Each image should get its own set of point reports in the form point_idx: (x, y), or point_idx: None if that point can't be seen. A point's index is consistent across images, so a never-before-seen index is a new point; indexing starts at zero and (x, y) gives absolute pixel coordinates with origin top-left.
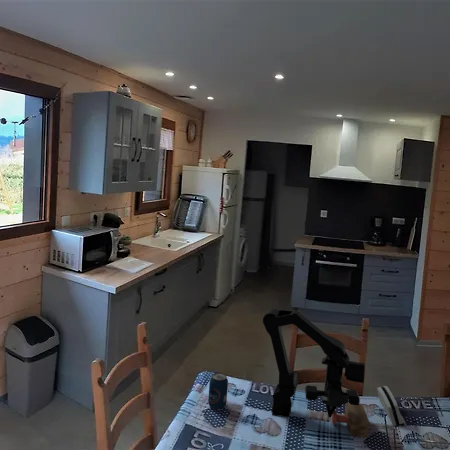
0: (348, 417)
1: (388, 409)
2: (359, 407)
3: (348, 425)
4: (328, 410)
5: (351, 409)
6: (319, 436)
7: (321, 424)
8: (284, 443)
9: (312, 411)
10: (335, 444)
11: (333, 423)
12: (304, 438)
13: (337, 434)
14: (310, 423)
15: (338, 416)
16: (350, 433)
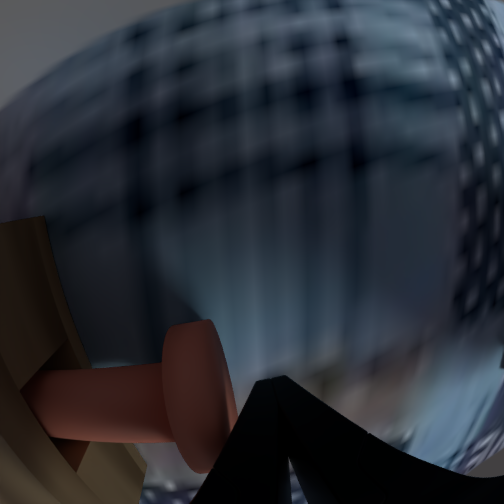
0: (47, 411)
1: None
2: (8, 502)
3: (60, 339)
4: (336, 433)
5: (30, 491)
6: (342, 75)
7: (335, 296)
8: (488, 8)
9: (386, 429)
10: (181, 12)
11: (210, 321)
12: (435, 40)
13: (156, 175)
14: (426, 267)
15: (152, 411)
16: (32, 219)
